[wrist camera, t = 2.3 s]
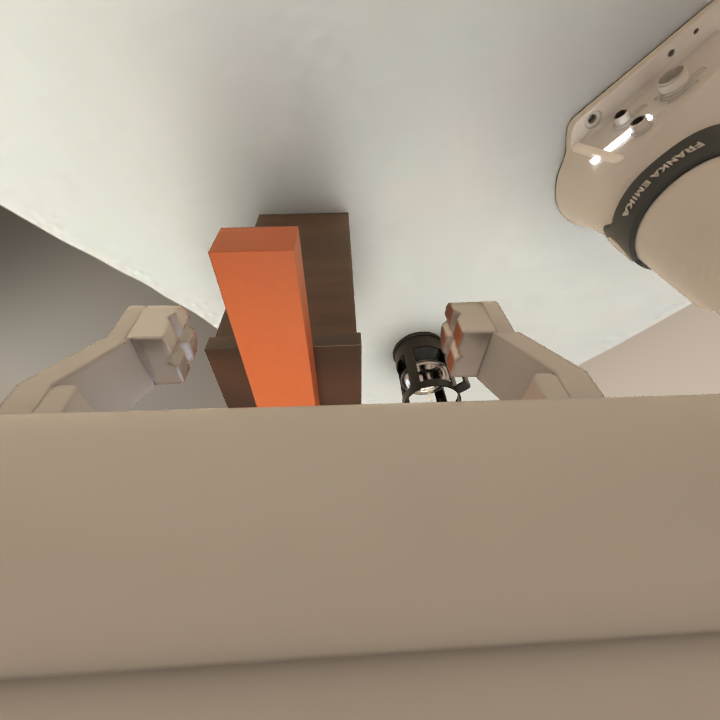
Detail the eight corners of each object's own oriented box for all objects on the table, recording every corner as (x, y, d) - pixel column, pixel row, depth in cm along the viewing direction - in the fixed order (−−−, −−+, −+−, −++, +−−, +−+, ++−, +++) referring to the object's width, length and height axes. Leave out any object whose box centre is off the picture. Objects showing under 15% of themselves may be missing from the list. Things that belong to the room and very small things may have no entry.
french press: (408, 379, 70) (432, 493, 53) (379, 352, 64) (395, 471, 48) (463, 348, 65) (507, 464, 48) (436, 317, 60) (475, 435, 43)
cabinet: (248, 212, 46) (190, 350, 28) (350, 210, 47) (361, 344, 28) (269, 308, 57) (237, 455, 38) (352, 305, 57) (361, 450, 38)
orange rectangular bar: (220, 227, 21) (207, 252, 19) (298, 225, 21) (294, 250, 19) (283, 456, 39) (280, 482, 36) (326, 454, 39) (325, 480, 37)
